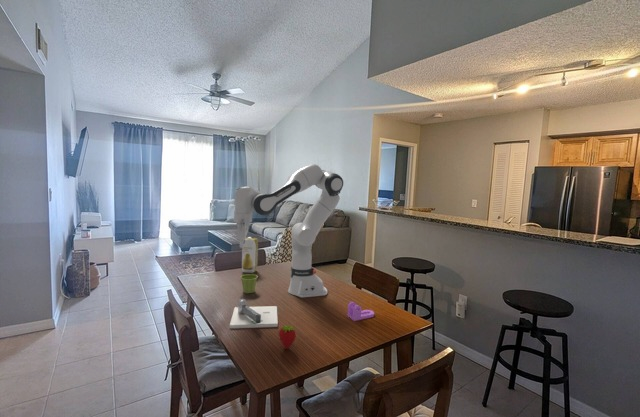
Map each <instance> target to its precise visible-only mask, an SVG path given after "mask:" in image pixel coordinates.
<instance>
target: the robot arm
mask: <svg viewBox="0 0 640 417" xmlns="http://www.w3.org/2000/svg"><path fill="white" fill-rule="evenodd" d="M313 186H316V187H317V188H318V189H321V194H320V196H319V197H318V198H317V199H316V201H315V202H314V204H313V205H312V206H311V207H310V208H309V210H308V211H307V213H306V216H305V217H304V219H303V221H302V222H297V223H295V224H294V225H293V226H292V227H291V232H290V233H291V251H292V252H291V253H292V254H291V257H292V258H291V267H290V280H289V281H290V283H289V287H288V289H287V292H288V294H290V295H293V296H297V297H298V298H303V299H304V298H312V297H322V296H327V295H328V289H327V288H326V287H325V286H324V281H323V280H322V278H320V277H319V276H318V275H317V274H316V273H317V270H316V269H315V268H314V267H312V256H313V254H312V248H311V247H312V246H311V245H313V244H315V242H316V237H317V236H318V234H319V233H320V231H321V229H322V226H323V225H324V223H325V222H326V221H327V219H328V218H329V217H330V215H331V214H332V213H333V212H334V210H335V209H336V207H337V205H338V203H339V201H340V193H341V191H342V189H343V186H344V179H343V178H342V176H341V175H340V174H338V173H335V172H333V171H329V170H328V171H327V170H324V169H322V168H321V166H319V164H316V163H312V164H308V165H307V166H304V167H302V168H299V169H298V170H296V171H294V172H293V173H291V174H290V175H289V176H288V178H287V181H286V183H285V184H284V185H283V186H281V187H279V188H278V189H276V190H274V191H273V192H270V193H262V192H260V191H258V190H256V189H254V188H252V186H249V185H248V186H241V187H237V189H236V190H235V194H234V213H233V222H234V223H236V226H237V231H236V239H237V241H238V242H239V248H240V249H242V248H243V247H244V244H245V238H247V234H248V233H249V228H250V224H251V223H252V222H253V212H256V213H257V214H259V215H260V216H268V215H271V213H273V211H274V210H275V209H276V207H278V205H279V204H281V203H283V202H284V201H285V200H287V199H289V198H290V197H292V196H293V195H294V196H295V195H296V194H299V193H301V192H304V191H305V190H308V189H310V188H311V187H313Z"/></svg>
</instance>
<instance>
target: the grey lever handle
mask: <svg viewBox="0 0 640 417" xmlns="http://www.w3.org/2000/svg"><path fill="white" fill-rule="evenodd" d="M237 302H238V303H237V307H238V314H246V315H247V316H248V317H250V318H251V319H252V320H254V321H255V322H256V323H260V322H261V315H260V314H258V313H257V312H255V311H254V310H253V309H251V308H250V307H251V306H248V305H247V299H246V298H245V299H244V298H241V299H238V301H237Z"/></svg>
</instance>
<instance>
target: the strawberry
mask: <svg viewBox="0 0 640 417" xmlns="http://www.w3.org/2000/svg"><path fill="white" fill-rule="evenodd" d="M290 324H291V323H290V322H289V323H288V324H287V325H284V324H283V327H281V328H280V329H279V332H278V336H279V337H278V338H279V341H280V342H281V344H282V346H283V347H284V349H287V350H288V349H289V348H290V347H291V346H292V344H294V342H295V340H296V335H297V334H296V331H295V329H294V328H296V326H290Z"/></svg>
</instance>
